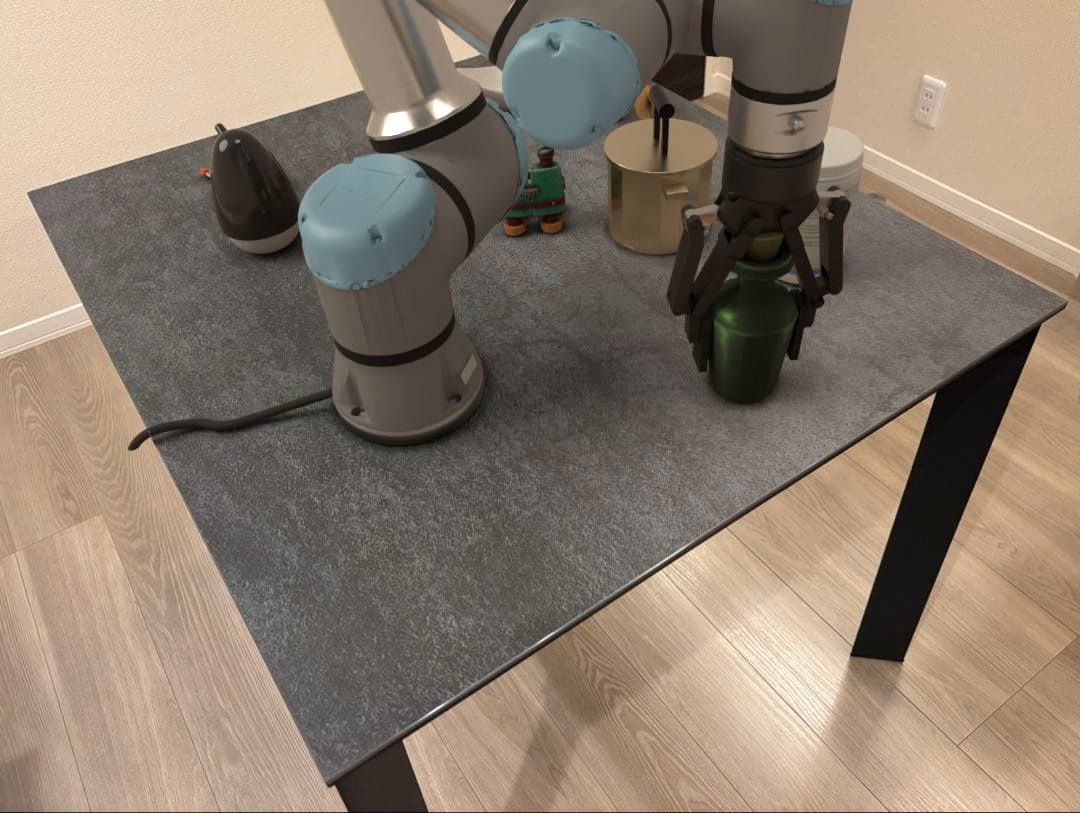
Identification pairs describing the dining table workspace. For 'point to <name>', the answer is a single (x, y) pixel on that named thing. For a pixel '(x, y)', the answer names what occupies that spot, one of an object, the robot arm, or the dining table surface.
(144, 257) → the dining table surface
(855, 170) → the supplement tub
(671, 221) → the pot
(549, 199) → the toy field glasses
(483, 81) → the spoon rest
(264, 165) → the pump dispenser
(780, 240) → the potion bottle
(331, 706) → the dining table surface
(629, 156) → the pot lid
